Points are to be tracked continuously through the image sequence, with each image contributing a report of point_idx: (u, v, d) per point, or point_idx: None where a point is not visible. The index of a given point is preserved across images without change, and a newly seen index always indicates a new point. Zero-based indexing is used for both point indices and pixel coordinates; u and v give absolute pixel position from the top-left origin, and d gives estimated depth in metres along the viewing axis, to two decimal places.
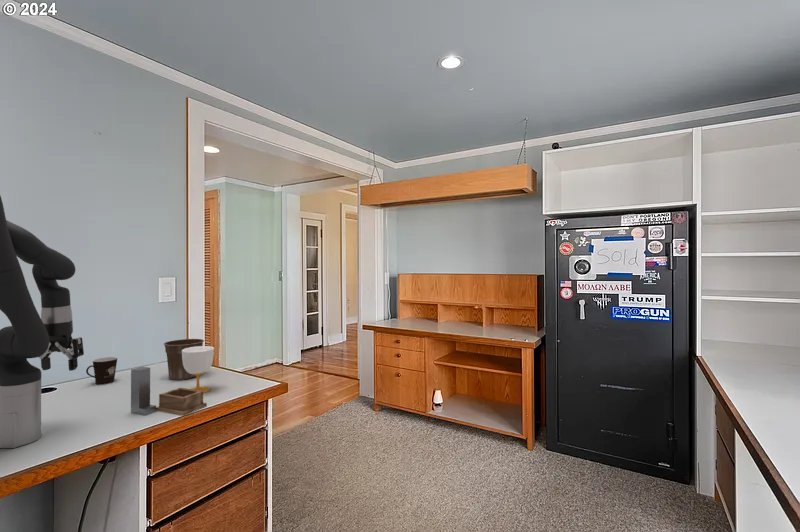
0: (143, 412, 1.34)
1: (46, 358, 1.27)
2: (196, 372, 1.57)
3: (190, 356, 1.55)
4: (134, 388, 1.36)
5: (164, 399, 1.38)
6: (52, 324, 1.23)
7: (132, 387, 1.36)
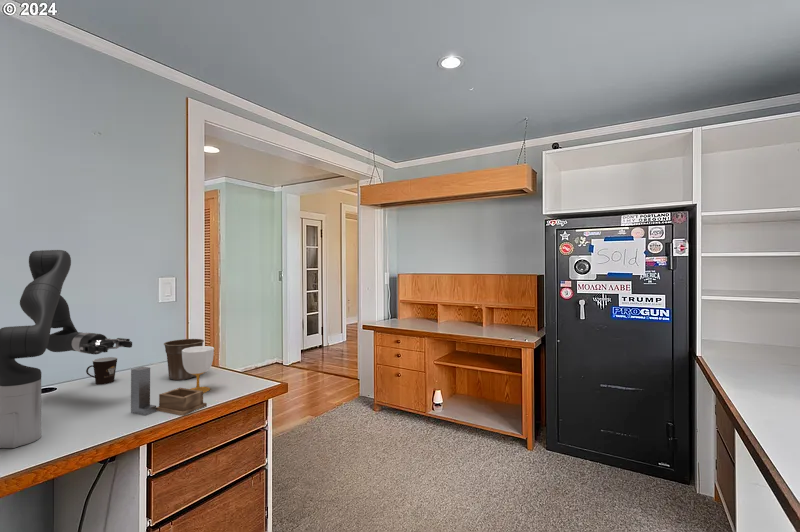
0: (143, 412, 1.34)
1: None
2: (196, 372, 1.57)
3: (190, 356, 1.55)
4: (134, 388, 1.36)
5: (164, 399, 1.38)
6: None
7: (132, 387, 1.36)
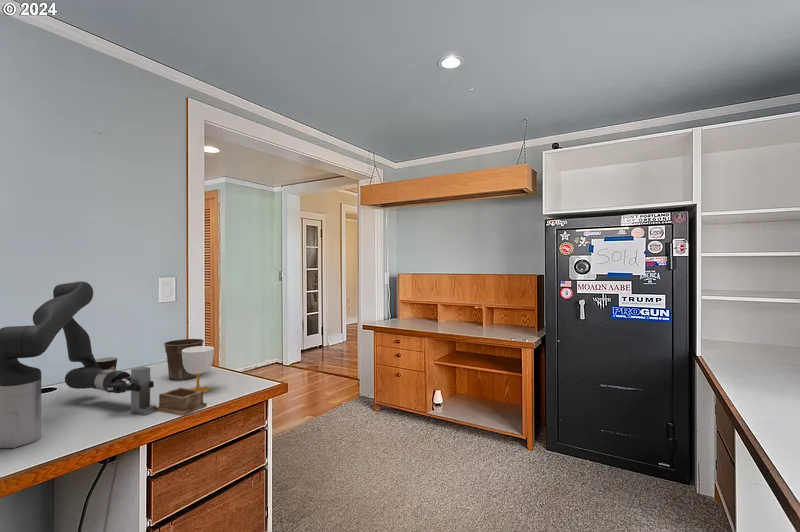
0: (143, 412, 1.34)
1: None
2: (196, 372, 1.57)
3: (190, 356, 1.55)
4: None
5: (164, 399, 1.38)
6: None
7: None
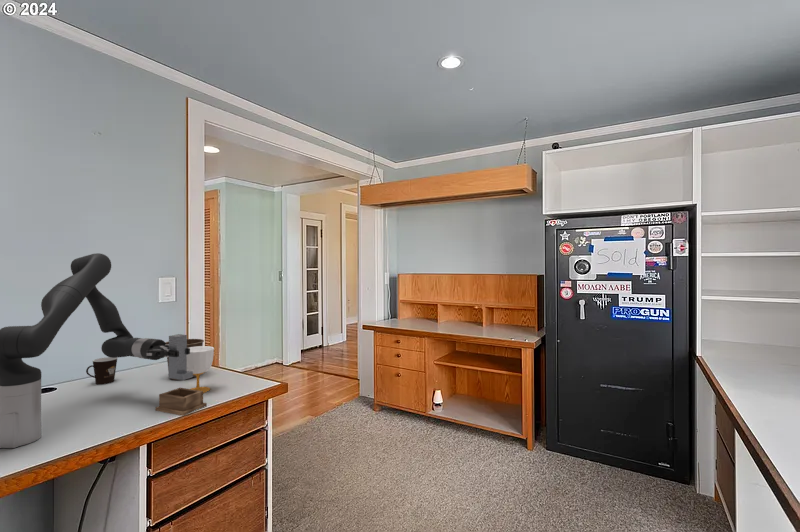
0: (181, 377, 1.38)
1: None
2: (196, 372, 1.57)
3: (190, 356, 1.55)
4: None
5: (164, 399, 1.38)
6: None
7: None
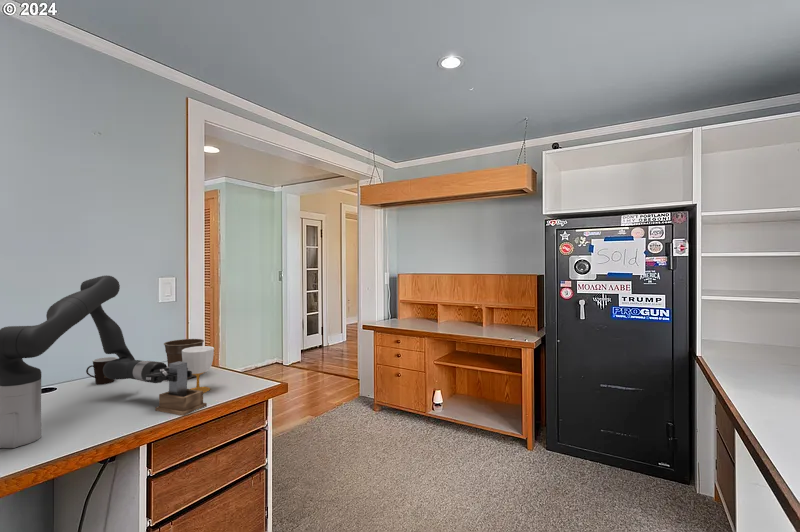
0: None
1: None
2: (196, 372, 1.57)
3: (190, 356, 1.55)
4: (172, 382, 1.40)
5: (164, 399, 1.38)
6: None
7: (170, 381, 1.40)
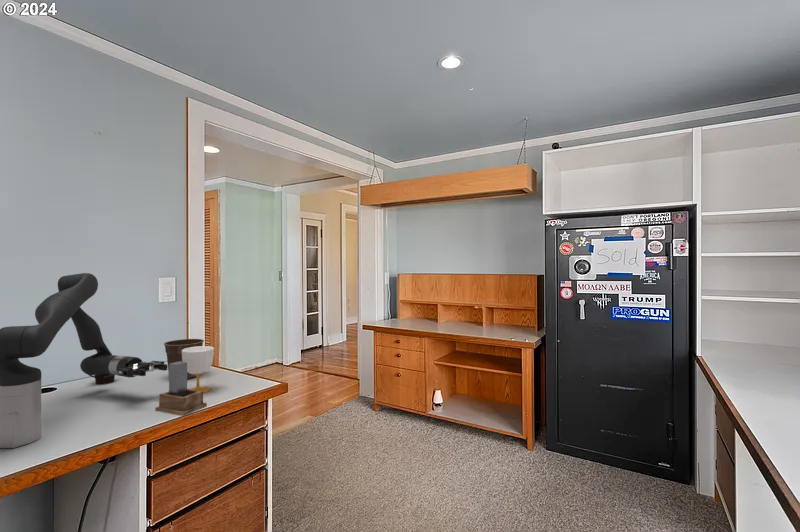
0: None
1: None
2: (196, 372, 1.57)
3: (190, 356, 1.55)
4: (172, 382, 1.40)
5: (164, 399, 1.38)
6: None
7: (170, 381, 1.40)
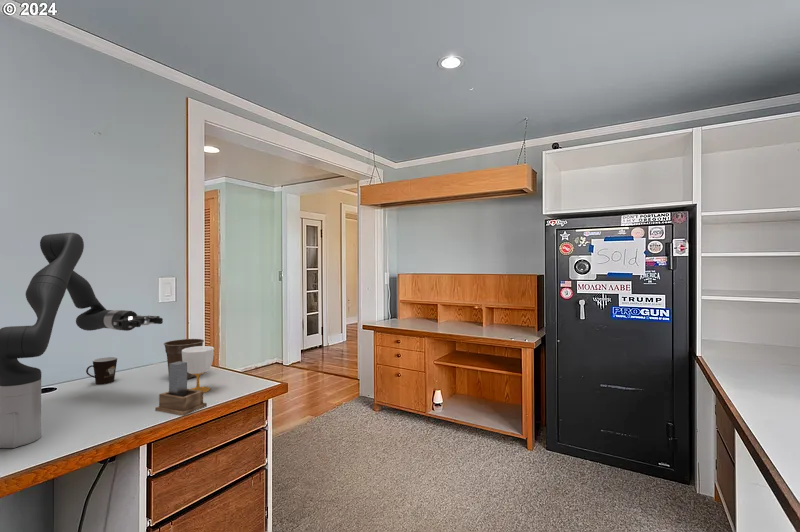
0: None
1: None
2: (196, 372, 1.57)
3: (190, 356, 1.55)
4: (172, 382, 1.40)
5: (164, 399, 1.38)
6: None
7: (170, 381, 1.40)
